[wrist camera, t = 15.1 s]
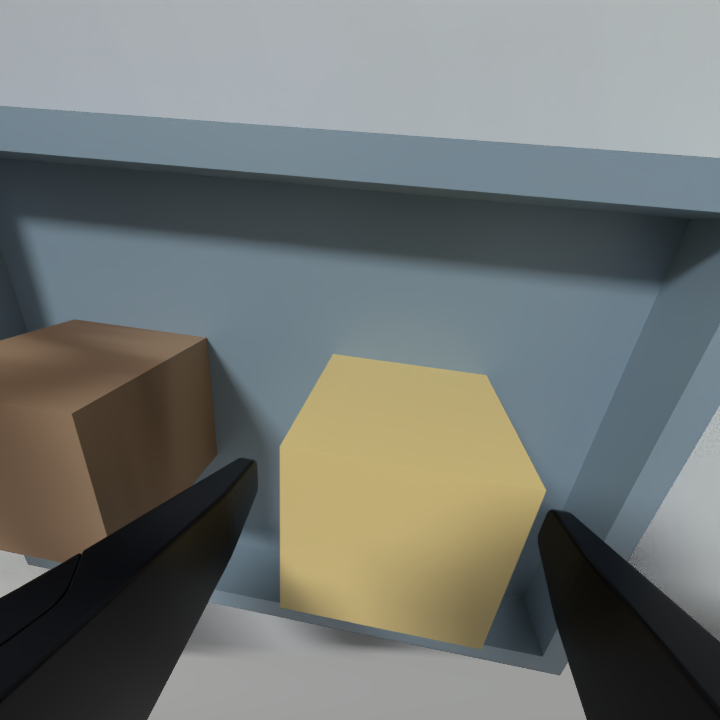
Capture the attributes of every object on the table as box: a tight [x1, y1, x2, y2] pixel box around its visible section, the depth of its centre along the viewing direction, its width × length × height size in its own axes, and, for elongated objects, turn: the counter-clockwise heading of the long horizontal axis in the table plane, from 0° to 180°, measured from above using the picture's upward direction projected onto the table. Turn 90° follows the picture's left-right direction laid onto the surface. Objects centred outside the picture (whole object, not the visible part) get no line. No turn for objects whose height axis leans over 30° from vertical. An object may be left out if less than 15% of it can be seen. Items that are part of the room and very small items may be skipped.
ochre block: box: [280, 354, 546, 649], centre depth 9 cm, size 4×4×4 cm
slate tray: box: [0, 106, 720, 675], centre depth 10 cm, size 20×15×2 cm
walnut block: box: [0, 319, 217, 563], centre depth 9 cm, size 4×4×4 cm
